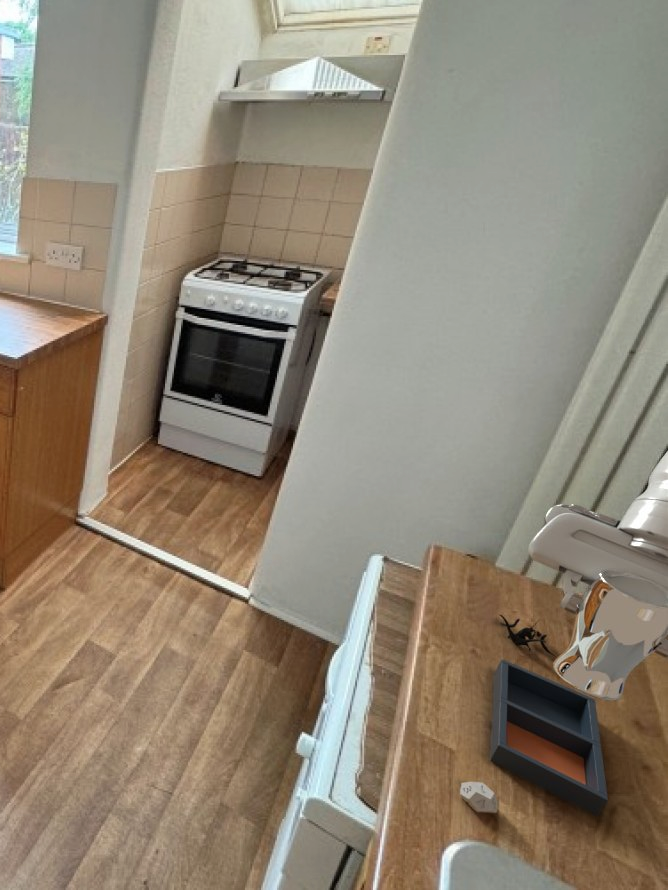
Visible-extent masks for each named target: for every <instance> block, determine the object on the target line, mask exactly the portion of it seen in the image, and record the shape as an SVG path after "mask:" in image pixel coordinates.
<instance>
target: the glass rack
mask: <svg viewBox="0 0 668 890" xmlns="http://www.w3.org/2000/svg"><path fill="white" fill-rule="evenodd" d="M493 676H494V677H493V694H492V712H491V713H492V714H491V731H490V733H491V735H490V754H489V755H490V756H489V761H490V762H492V763H493V764H495V765H498V766H499V767H501V768H503V769H505V770H506V771H509V772H510V773H512V774H514V775H517V776H519V777H520V778H523V779H524V780H526V781H528V782H530V783H532V784H534V785H535V786H538V787H540V788H542V789H544V790H545V791H547V792H549V793H551V794H553V795H555V796H556V797H559V798H561V799H563V800H565V801H567V802H569V803H571V804H573V806H576V807H578V808H580V809H581V810H583V811H586V812H587V813H590V814H592V815H593V816H596V817H598V816H599V815H600V814H601V812H602V810H603V809H604V807H605V806H606V805H607V803H608V802H609V799H608V798H609V797H608V789H607V782H606V774H605V767H604V760H603V759H604V758H603V751H602V744H601V736H600V728H599V719H598V711H597V706H596V699H595V698H594V697H592V696H590V695H587V694H585V693H583V692H580V691H578V690H575V689H572V688H570V687H568V686H565V685H564V684H561V683H559V682H557V681H554V680H551V679H549V678H546V677H545V676H542V675H540V674H538V673H535V672H533V671H530V669H529V670H528V669H527V668H524V667H522V666H519V665H517V664H515V663H512V662H510V661H507V660H505V659H504V658H501V659H500V661H499V663H498V665H497V667H496V669H495V671H494V674H493Z"/></svg>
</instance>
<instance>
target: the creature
mask: <svg viewBox="0 0 668 890" xmlns="http://www.w3.org/2000/svg"><path fill="white" fill-rule="evenodd" d="M499 616H500V617H501V618H502V620H503V622H499V624H501V625H502V626H504V627H506V629H507V633H508V636H507V638H508V639H510V640H511V641H512V643H513V644H514V645H515V646H525V647H527V648H528V652H531V650H532V649H531V647H530V646H529V643H534V642H535V643H536V642H540V645H541V647H542V648H543V649H544V651H545V652H546V653H548V654H549V655H551V656H553V657H554V658H557V655H556V654H554V653H553V652H551V651H550V650H549V648H548V647H547V645H546V641H545V639H546V638H547V637H548V635H547V634H542V633H541V632H540V631H538V630H537V631H536V629H534V628H535V626H536V625H537V624H538V622H539V621H540V619H538V620H537V621H536V622H535V623H534V624H533V625H532V626H530V627H523V628H522V629H520V630H519V631H517V632H516V633H514V632H513V630H512V629H513V628H515V627H516V626H517V625H518V623H519V622H520V618H516V619H515V621H514V622H513V623H509V621H508V620H507V618H506V617H505V616H503V614H499ZM511 628H512V629H511ZM535 637H538V638H539V639H538V638H535Z"/></svg>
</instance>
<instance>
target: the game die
mask: <svg viewBox="0 0 668 890" xmlns="http://www.w3.org/2000/svg"><path fill="white" fill-rule="evenodd" d="M459 796H460V797H461V799H462V800H463V801H465V802H466V803H467V805H468V806H469V807H471V808H472V810H474V811H475V812H476V813H485V814H487V813H488V814H496V813H498V807H499V800H498V798H497V796H496V793H495V792H494V791H493V790H492V789H491V788H489V787H488V786H487V785H486V784H485V783H484V782H482V781H464V782H461V784H460V790H459Z"/></svg>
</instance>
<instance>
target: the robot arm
mask: <svg viewBox="0 0 668 890" xmlns="http://www.w3.org/2000/svg"><path fill="white" fill-rule="evenodd" d="M543 522H544V524H545V525H544V526H543V527H542V528H541V529H540V530H539V531H538V532H537V533H536V534H535V536H534V537H533V538H532V539H531V541H530V543H529V544H528V548H527V549H528V553H529V556H530V558H531V559H532V561H534V562H537V563H539V564H541V565H543V566H546V567H548V568H549V569H552V570H554V571H557V572H559V573H561V574H562V576H561V584H562V585H561V586H562V590H563V593H564V597H563V598H562V600H561V601H560V603H559V608H560V609H562V610H564V611H566V612H569V613H571V614H573V615H576V614H577V610H578V607H579V604H580V602H581V600H582V598H580V597H578V596H576V595H575V592H574V589H573V587H574V588H577V587H578V586H579V584H580V583H581V582H582V583H584V584H585V585H588V586H590V585H591V584H592V582H593V581H594V580H595V579H596V577H597V576H598V574H599V573H600V571H601V570H603V569H619V570H624V571H628V572H632V573H635V574H638V575H641V576H644V577H646V578H648V579H651V580H653V581H655V582H657V583H659V584H661V585H663V586H664V587H666V588H668V450H667V451H666V453H665V454H664V455H663V457H662V458H660V460H659V462H657V464H656V466H655V467H654V469H653V470H652V472H651V473H650V475H649V478H648V485H647V488H646V489H645V491H643V493H642V494H639V496H637V497H636V498H635V499H634V500H633V502H632V503H631V505H630V506H629V508H628V509H627V511H626V512H625V514H624V515H623V517H622V519H617V518H615V517H614V518H613V517H611V516H609V515H605V514H602V513H599V512H595V511H592V510H589V509H587V508H586V507H584V506H581V505H578V504H575V503H571V505H570V504H562V503H561V504H556V505H553V506H552V507H550V508H549V510H548V511H547V513H546V515H545V516H544V519H543ZM607 581H608V582H609V583H610V584H611V585H612V586H614V587H615V588H617V589H618V590H620V591H622V592H624V593H626V594H628V595H630V596H632V597H634V598H637V599H639V600H642V601H645V602H648V603H651V604H655V605H660V606H668V600H667V598H666V597H665V596H664V594H663V593H662V592H661V591H660V590H659V589H657V588H656V587H655V586H653V585H652V584H650V583H648V582H646V581H643V580H641V579H637V578H633V577H613V578H611V579H610V578H609V579H608V580H607ZM654 653H655V654H657V655H659V656H661V657H663V658H665V659H666V660H668V638H666V637H665V638H664V640H663V641H662V642H661V644H660V645H659V646H658V647H657V648H656V649H655V650H654Z"/></svg>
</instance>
